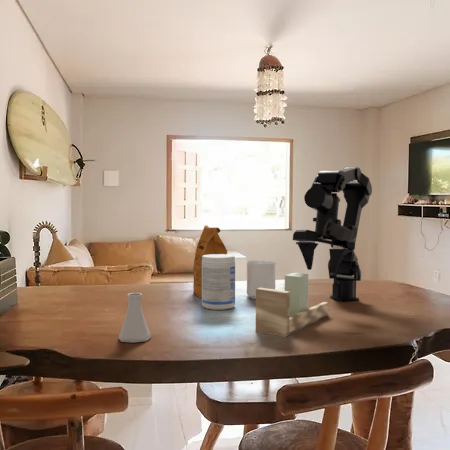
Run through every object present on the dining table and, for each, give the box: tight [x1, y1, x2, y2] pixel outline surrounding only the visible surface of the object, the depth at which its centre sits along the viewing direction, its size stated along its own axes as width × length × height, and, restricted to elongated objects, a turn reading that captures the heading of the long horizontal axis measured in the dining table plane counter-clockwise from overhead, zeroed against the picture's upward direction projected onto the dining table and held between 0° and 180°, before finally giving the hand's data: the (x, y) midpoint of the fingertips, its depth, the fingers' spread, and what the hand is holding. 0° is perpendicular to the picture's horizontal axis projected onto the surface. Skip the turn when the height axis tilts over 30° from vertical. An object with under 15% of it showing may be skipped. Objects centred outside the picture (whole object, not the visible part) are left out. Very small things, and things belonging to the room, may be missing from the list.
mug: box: [246, 259, 277, 300], centre depth 149 cm, size 12×9×11 cm
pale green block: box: [284, 272, 309, 317], centre depth 118 cm, size 5×4×12 cm
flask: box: [118, 292, 152, 344], centre depth 104 cm, size 7×7×10 cm
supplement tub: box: [201, 253, 236, 311], centre depth 134 cm, size 10×10×15 cm
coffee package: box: [192, 225, 228, 299], centre depth 150 cm, size 10×12×22 cm
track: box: [255, 288, 329, 338], centre depth 117 cm, size 24×8×10 cm, turn 145°
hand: (321, 271), depth 128 cm, fingers open, 9 cm apart
